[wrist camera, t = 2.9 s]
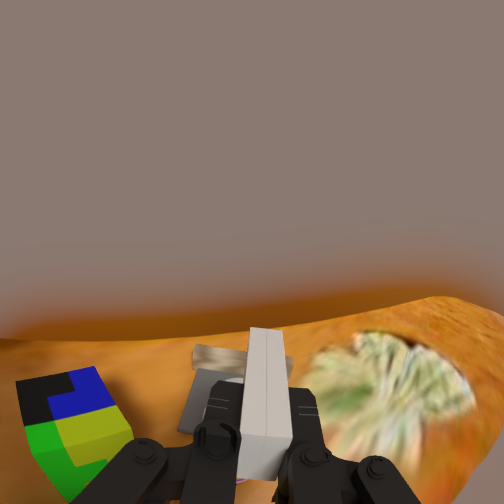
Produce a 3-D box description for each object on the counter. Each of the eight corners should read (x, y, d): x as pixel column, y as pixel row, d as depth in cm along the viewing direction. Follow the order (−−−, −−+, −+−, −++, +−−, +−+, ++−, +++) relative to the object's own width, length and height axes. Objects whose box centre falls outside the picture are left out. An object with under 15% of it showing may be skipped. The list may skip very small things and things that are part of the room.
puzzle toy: (107, 422, 29) (94, 365, 26) (144, 478, 22) (131, 428, 20) (42, 438, 22) (15, 381, 19) (68, 502, 15) (31, 454, 13)
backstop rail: (192, 369, 44) (193, 350, 43) (194, 362, 46) (195, 343, 45) (288, 382, 44) (293, 364, 43) (287, 375, 46) (292, 357, 45)
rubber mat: (178, 431, 30) (177, 428, 30) (198, 370, 44) (198, 367, 44) (286, 445, 30) (287, 443, 30) (282, 382, 44) (283, 379, 44)
